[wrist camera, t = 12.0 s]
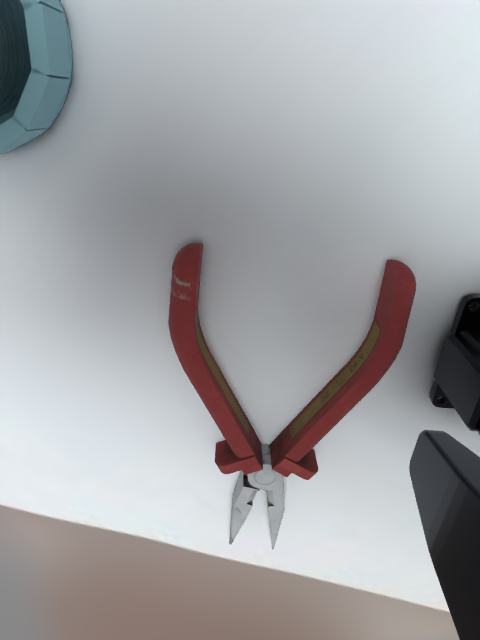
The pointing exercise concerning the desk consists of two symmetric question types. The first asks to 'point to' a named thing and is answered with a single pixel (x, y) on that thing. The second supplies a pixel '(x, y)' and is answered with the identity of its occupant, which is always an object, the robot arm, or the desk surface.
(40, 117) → the ring collar
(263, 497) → the desk surface
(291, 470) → the pliers
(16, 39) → the piston
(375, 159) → the desk surface
